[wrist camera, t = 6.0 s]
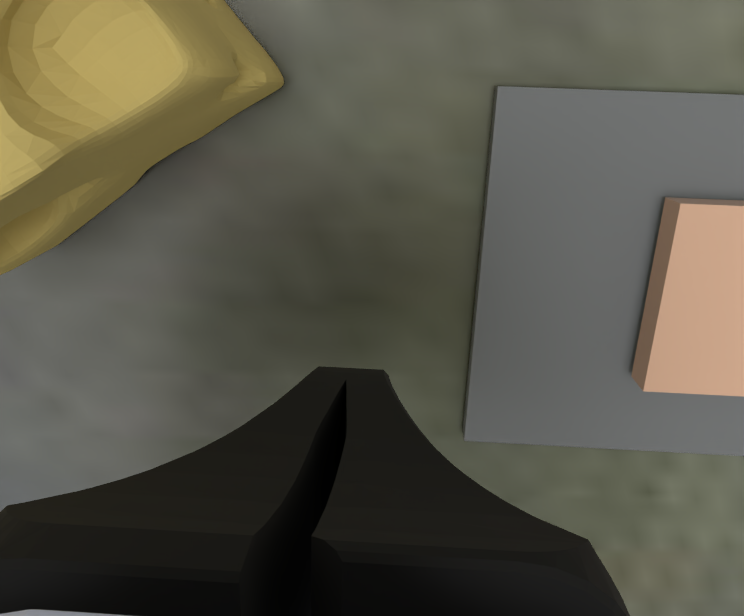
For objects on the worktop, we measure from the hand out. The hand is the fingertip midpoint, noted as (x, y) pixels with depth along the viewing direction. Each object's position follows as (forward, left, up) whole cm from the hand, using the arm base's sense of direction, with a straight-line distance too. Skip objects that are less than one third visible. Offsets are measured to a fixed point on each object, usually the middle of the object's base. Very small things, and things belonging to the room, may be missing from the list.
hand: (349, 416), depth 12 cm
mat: (0, -10, -10) cm, 14 cm away
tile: (0, -9, -8) cm, 12 cm away
